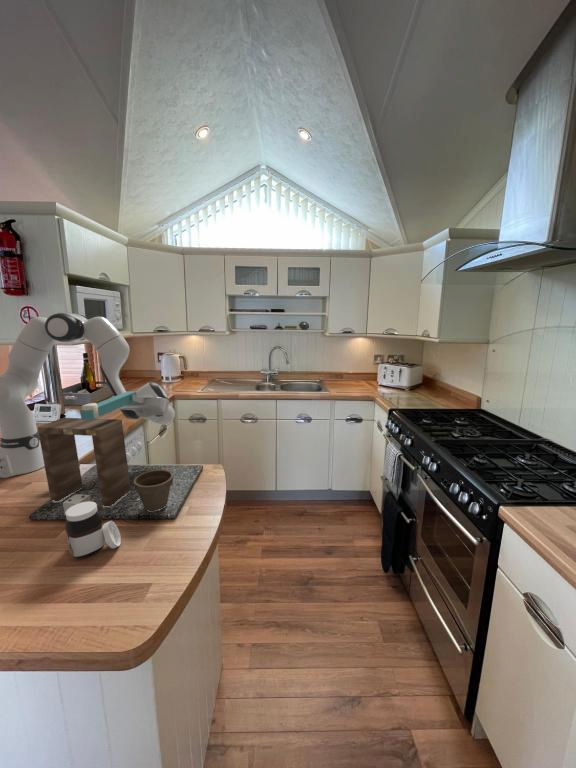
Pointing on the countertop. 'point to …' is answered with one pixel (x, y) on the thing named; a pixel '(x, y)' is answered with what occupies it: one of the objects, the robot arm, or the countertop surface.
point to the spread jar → (89, 530)
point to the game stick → (105, 406)
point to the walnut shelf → (64, 457)
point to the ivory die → (75, 501)
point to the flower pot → (154, 488)
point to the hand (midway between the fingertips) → (125, 397)
